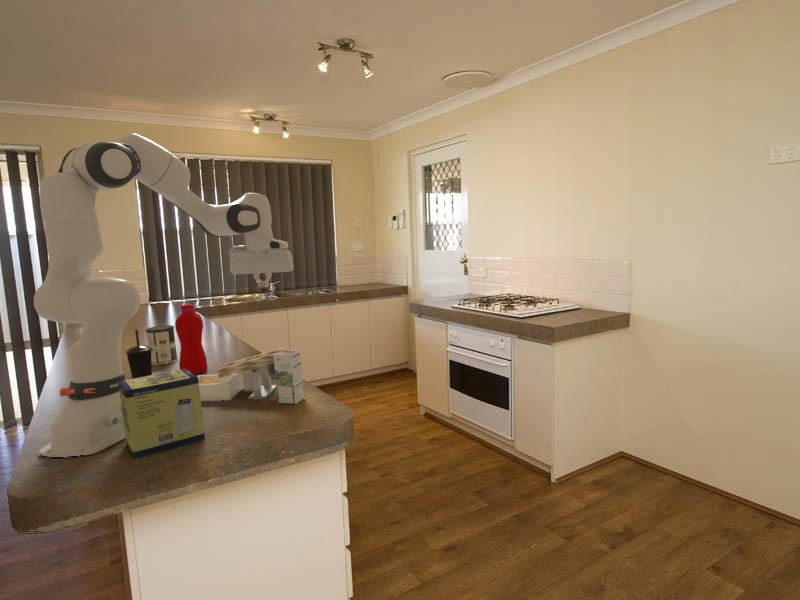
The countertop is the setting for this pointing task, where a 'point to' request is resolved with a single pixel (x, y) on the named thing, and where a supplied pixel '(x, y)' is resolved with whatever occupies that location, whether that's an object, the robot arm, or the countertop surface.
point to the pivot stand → (259, 390)
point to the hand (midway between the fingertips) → (263, 287)
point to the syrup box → (288, 376)
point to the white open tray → (220, 387)
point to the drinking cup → (139, 359)
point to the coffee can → (162, 344)
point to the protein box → (161, 411)
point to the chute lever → (251, 364)
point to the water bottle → (191, 340)
